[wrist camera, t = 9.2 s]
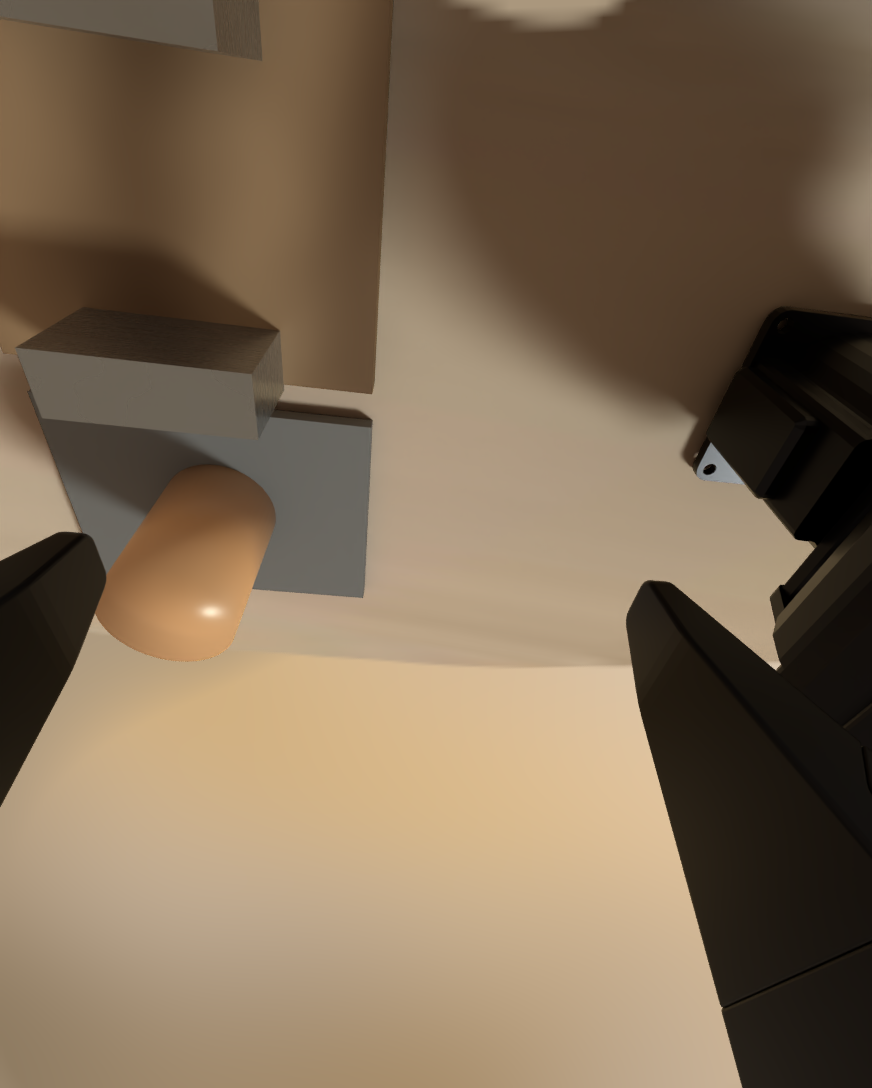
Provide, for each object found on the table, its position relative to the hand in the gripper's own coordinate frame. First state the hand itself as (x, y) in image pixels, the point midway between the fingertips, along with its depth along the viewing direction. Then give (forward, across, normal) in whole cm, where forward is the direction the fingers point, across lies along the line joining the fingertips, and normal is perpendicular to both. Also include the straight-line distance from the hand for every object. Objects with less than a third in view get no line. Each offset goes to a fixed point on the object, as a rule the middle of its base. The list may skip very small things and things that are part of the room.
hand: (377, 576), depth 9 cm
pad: (+12, +7, +8) cm, 16 cm away
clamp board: (+12, +7, -3) cm, 14 cm away
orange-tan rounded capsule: (+11, +7, +8) cm, 15 cm away
